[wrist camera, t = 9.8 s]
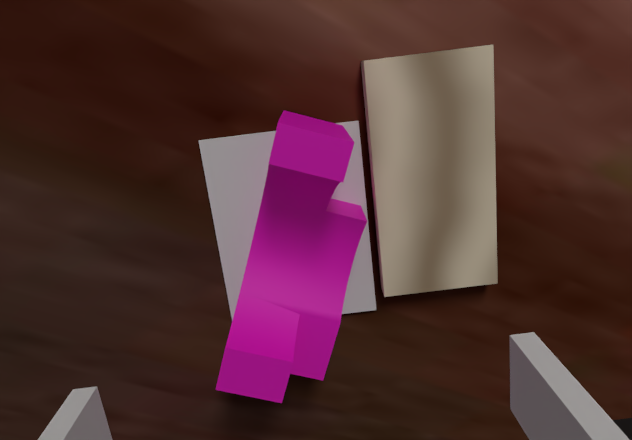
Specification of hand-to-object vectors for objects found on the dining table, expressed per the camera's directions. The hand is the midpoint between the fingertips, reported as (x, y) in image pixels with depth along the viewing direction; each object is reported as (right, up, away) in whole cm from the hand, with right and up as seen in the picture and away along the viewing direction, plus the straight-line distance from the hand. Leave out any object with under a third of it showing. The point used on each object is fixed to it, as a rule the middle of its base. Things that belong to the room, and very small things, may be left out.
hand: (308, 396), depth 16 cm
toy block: (-1, +5, +17) cm, 18 cm away
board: (+8, +9, +17) cm, 20 cm away
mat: (-1, +5, +17) cm, 18 cm away
